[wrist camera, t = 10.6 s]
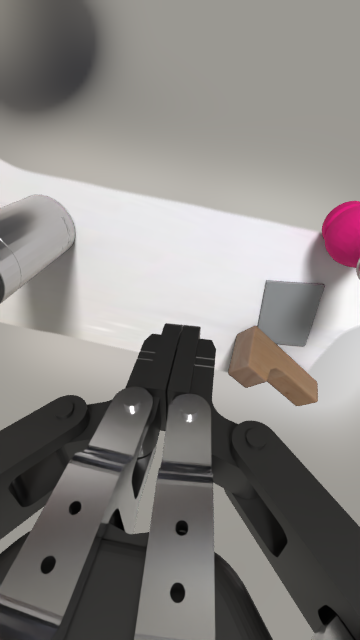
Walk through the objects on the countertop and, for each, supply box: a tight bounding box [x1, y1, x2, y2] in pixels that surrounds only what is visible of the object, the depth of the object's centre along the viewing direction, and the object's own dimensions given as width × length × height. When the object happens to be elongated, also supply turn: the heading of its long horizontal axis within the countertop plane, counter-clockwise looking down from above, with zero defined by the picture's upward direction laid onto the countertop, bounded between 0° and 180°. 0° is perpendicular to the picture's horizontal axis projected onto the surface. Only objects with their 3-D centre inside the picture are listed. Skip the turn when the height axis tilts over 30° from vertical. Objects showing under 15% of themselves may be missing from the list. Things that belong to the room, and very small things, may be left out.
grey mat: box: [258, 280, 325, 346], centre depth 48 cm, size 8×12×1 cm
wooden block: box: [228, 326, 318, 406], centre depth 50 cm, size 9×4×18 cm
